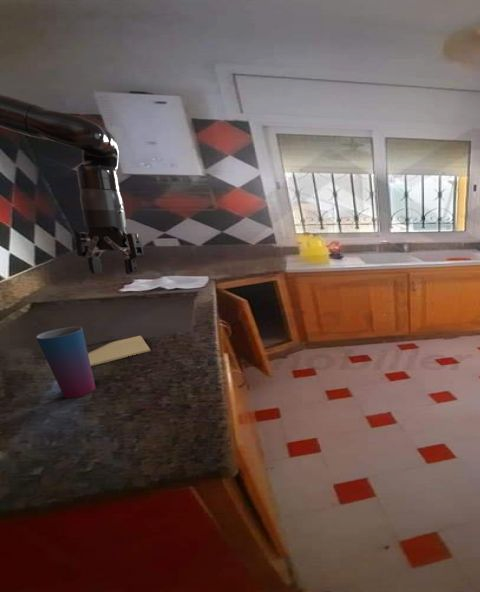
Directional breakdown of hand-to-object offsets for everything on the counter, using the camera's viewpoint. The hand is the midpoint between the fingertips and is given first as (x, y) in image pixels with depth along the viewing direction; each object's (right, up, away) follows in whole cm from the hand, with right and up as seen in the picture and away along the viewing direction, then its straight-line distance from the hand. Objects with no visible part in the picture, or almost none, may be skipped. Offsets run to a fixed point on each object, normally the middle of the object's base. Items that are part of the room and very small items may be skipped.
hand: (114, 273), depth 82 cm
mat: (-13, -23, +12) cm, 29 cm away
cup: (0, -28, -8) cm, 30 cm away
